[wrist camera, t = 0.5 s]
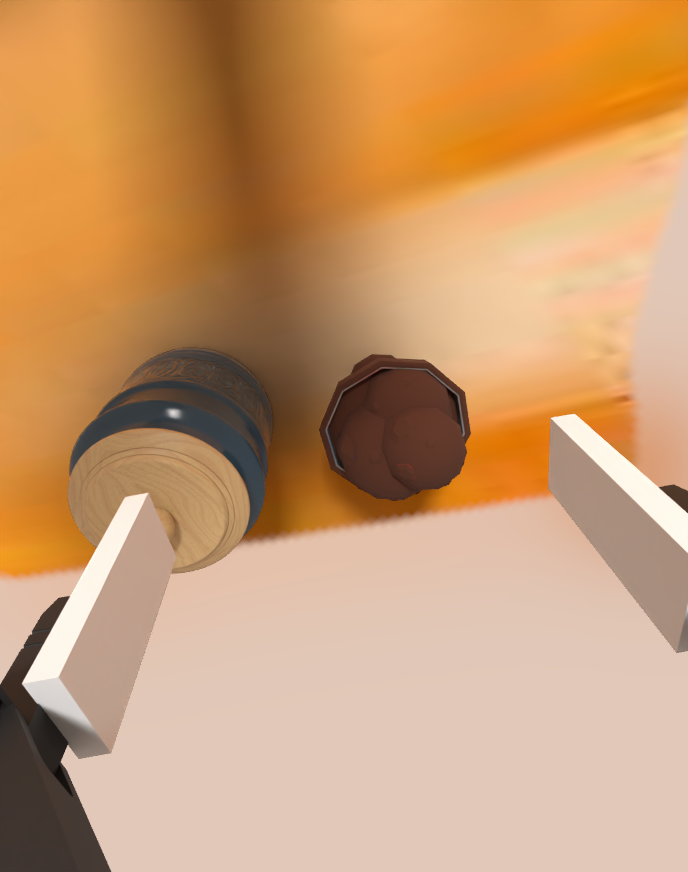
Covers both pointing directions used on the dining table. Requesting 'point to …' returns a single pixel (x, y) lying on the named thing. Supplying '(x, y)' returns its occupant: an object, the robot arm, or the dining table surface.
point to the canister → (178, 454)
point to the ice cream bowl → (396, 427)
